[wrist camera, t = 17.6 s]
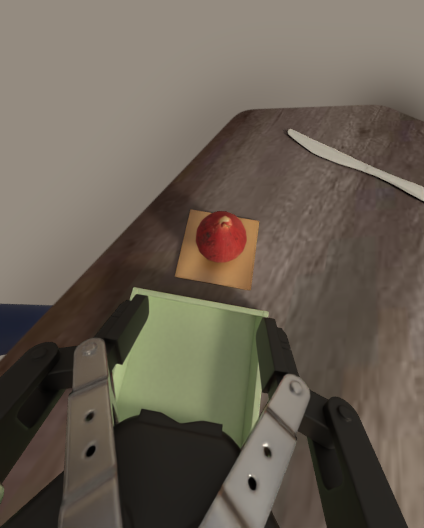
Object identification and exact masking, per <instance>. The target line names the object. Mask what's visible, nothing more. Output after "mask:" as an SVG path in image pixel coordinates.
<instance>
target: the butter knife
mask: <svg viewBox="0 0 424 528" xmlns="http://www.w3.org/2000/svg"><path fill="white" fill-rule="evenodd" d="M288 134H289V135H290V136H291V137H292V138H293V139H295V140H296V141H297V142H298V143H300V144H301V145H302V146H304V147H305V148H306V149H308V150H309V151H311V152H312V153H314V154H316V155H318V156H320V157H323V158H326V159H328V160H331V161H333V162H336V163H338V164H341V165H345V166H348V167H352V168H355V169H358V170H361V171H363V172H366V173H369V174H372V175H374V176H377V177H379V178H381V179H383V180H385V181H387V182H389V183H391V184H393V185H395V186H397V187H399V188H401V189H402V190H404V191H406V192H407V193H409V194H411V195H413V196H415V197H417V198H419V199H421V200H423V201H424V187H422V186H419V185H417V184H415V183H412V182H409V181H406V180H404V179H401V178H398V177H396V176H393V175H391V174H388V173H386V172H383V171H381V170H379V169H376V168H374V167H372V166H369V165H367V164H365V163H363V162H360V161H358V160H356V159H354V158H352V157H350V156H348V155H346V154H344V153H342V152H339V151H337V150H335V149H333V148H331V147H329V146H327V145H324V144H322V143H320V142H318V141H315V140H313V139H311V138H309V137H306V136H304V135H302V134H301V133H299V132H296V131H294V130H292V129H290V130H288Z"/></svg>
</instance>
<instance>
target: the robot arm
mask: <svg viewBox="0 0 424 528" xmlns="http://www.w3.org/2000/svg"><path fill="white" fill-rule="evenodd" d="M148 316H149V298H148V296H147V295H141V294H136V295H135V296H134V297H133V299H132V300H126V301H125V302H123V303H122V304H120V305H119V306H118V308H117V309H116V310H115V312H114V313H113V314H112V315H111V317H110V318H109V319H108V320H107V322H106V323H105V324H104V325H103V327H102V328H101V329H100V330H99V332H98V333H97V334H96V335H95V336H94V337H93V338H91V339H88V340H85V341H84V342H82V343H81V344H80V345H79V346H73V347H65V348H58V346H57V345H56V344H55V343H53V342H45V343H41V344H38V345H36V346H34V347H32V348H31V349H29V350H28V351H27V352H26V353H25V354H24V355H23V356H22V357H21V358H20V359H19V360H18V361H17V362H16V363H15V364H14V365H13V366H12V367H11V368H10V369H8V370H7V371H6V372H5V373H4V374H3V375H2V376H1V377H0V504H1V502H2V498H3V494H4V487H3V484H2V483H3V481H4V480H5V478H6V477H7V475H8V474H9V472H10V471H11V469H12V468H13V466H14V465H15V463H16V462H17V460H18V459H19V457H20V456H21V455H22V453H23V452H24V450H25V449H26V447H27V446H28V444H29V443H30V441H31V440H32V438H33V437H34V435H35V434H36V432H37V431H38V429H39V428H40V427H41V425H42V424H43V422H44V421H45V419H46V418H47V416H48V415H49V413H50V412H51V410H52V409H53V407H54V406H55V404H56V403H57V401H58V400H59V399H60V397H61V396H62V394H63V393H64V391H65V390H66V389H67V388H73V389H72V393H70V394H69V397H68V410H67V428H66V447H65V465H64V471H63V472H62V473H61V474H59V475H58V476H57V477H56V478H55V479H54V480H53V481H51V482H50V483H49V484H48V485H47V486H46V487H45V488H44V489H42V490H41V491H40V492H39V493H38V494H37V495H36V496H35V497H33V498H32V499H31V500H30V501H29V502H28V503H27V504H26V505H24V506H23V507H22V508H21V509H20V510H19V511H18V512H17V513H15V514H14V515H13V516H12V517H11V518H10V519H9V520H8V521H6V522H5V523H4V524H3V525H2V526H1V527H0V528H280V527H279V525H278V523H277V521H276V519H275V517H274V515H273V513H272V511H271V509H272V506H273V503H274V501H275V498H276V495H277V493H278V490H279V487H280V485H281V482H282V479H283V477H284V474H285V471H286V469H287V466H288V463H289V461H290V458H291V455H292V453H293V450H294V447H295V445H296V441H297V437H296V433H297V431H299V432H300V433H302V434H304V435H305V436H307V439H308V444H309V448H310V453H311V458H312V462H313V467H314V471H315V476H316V480H317V485H318V489H319V494H320V498H321V503H322V507H323V512H324V516H325V521H326V525H327V528H408V526H407V524H406V522H405V519H404V517H403V515H402V513H401V510H400V508H399V506H398V504H397V501H396V499H395V497H394V495H393V492H392V490H391V488H390V486H389V483H388V481H387V479H386V477H385V474H384V472H383V470H382V467H381V465H380V463H379V461H378V458H377V456H376V454H375V452H374V449H373V447H372V445H371V443H370V440H369V438H368V436H367V434H366V431H365V429H364V427H363V425H362V422H361V420H360V418H359V416H358V414H357V412H356V411H355V410H354V408H353V407H352V406H351V405H350V404H349V403H348V402H346V401H345V400H343V399H341V398H339V397H331V398H330V399H329V400H328V399H326V398H324V397H322V396H320V395H318V394H316V393H315V392H313V391H311V390H310V389H309V388H308V386H307V385H306V383H305V382H304V381H303V380H302V379H301V378H300V377H299V375H298V371H297V368H296V365H295V361H294V358H293V355H292V351H291V348H290V345H289V342H288V338H287V335H286V334H285V332H284V331H283V330H282V328H278V327H277V325H276V321H275V319H272V318H267V317H262V319H261V322H260V324H259V327H258V329H257V332H256V346H257V355H258V363H259V371H260V379H261V388H262V392H264V393H268V396H269V401H268V402H267V404H266V406H265V407H264V409H263V411H262V413H261V414H260V416H259V418H258V419H257V421H256V423H255V425H254V426H253V428H252V430H251V431H250V433H249V435H248V436H247V438H246V440H245V441H244V443H243V445H242V446H241V448H240V447H239V446H238V445H237V443H236V442H235V441H234V440H233V439H232V438H231V437H230V436H229V435H228V434H227V433H225V432H224V431H222V428H223V424H219V423H213V422H208V421H203V420H202V421H195V422H187V423H179V422H177V421H175V420H174V419H172V418H170V417H168V416H167V415H165V414H163V413H162V412H157V411H152V410H147V409H141V411H140V414H139V415H135V416H132V417H129V418H127V419H124V420H123V421H121V422H120V418H119V412H118V407H117V401H116V394H115V386H114V378H113V371H112V370H113V368H114V367H115V365H116V364H120V365H123V363H124V361H125V359H126V357H127V356H128V354H129V352H130V350H131V348H132V347H133V345H134V343H135V341H136V339H137V337H138V336H139V334H140V332H141V330H142V328H143V327H144V325H145V323H146V321H147V319H148Z"/></svg>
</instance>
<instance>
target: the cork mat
mask: <svg viewBox="0 0 424 528" xmlns="http://www.w3.org/2000/svg"><path fill="white" fill-rule="evenodd" d="M209 214H211V213H208V212H202V211H196V210H190V214H189V218H188V222H187V226H186V231H185V235H184V239H183V243H182V248H181V252H180V256H179V260H178V265H177V269H176V273H175V277H177V278H183V279H188V280H194V281H200V282H205V283H211V284H216V285H222V286H227V287H233V288H238V289H244V290H251V283H252V275H253V267H254V259H255V251H256V242H257V234H258V226H259V221H256V220H250V219H244V218H239V219H240V220H241V221H242V223H243V225H244V227H245V229H246V236H247V242H246V245H245V247H244V250H243V252H242V253H241V254H240V255H239V256H238V257H237V258H235V259H233V260H231V261H228V262H222V263H217V262H213V261H210V260H208V259H206V258H205V257H204V256H203V255H202V254H201V253H200V252H199V249H198V247H197V244H196V232H197V228H198V226H199V224H200V223H201V221H202V220H203V219H204V218H205V217H206V216H208V215H209ZM237 218H238V217H237Z"/></svg>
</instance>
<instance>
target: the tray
mask: <svg viewBox="0 0 424 528" xmlns="http://www.w3.org/2000/svg"><path fill="white" fill-rule="evenodd" d="M136 294H141V295H147V296H148V298H149V316H148V319H147V321H146V323H145V325H144V327H143V328H142V330H141V332H140V334H139V336H138V337H137V339H136V341H135V343H134V345H133V347H132V348H131V350H130V352H129V354H128V356H127V357H126V359H125V361H124V363H123V365H120V364H116V365H115V367H114V368H113V370H112V371H113V378H114V386H115V394H116V401H117V407H118V412H119V418H120V422H121V421H123V420H124V419H127V418H129V417H132V416H135V415H139V414H140V411H141V409H147V410H152V411H157V412H162V413H163V414H165V415H167V416H168V417H170V418H172V419H174V420H175V421H177V422H179V423H187V422H195V421H202V420H203V421H208V422H213V423H219V424H223V428H222V431H224V432H225V433H227V434H228V435H229V436H230V437H231V438H232V439H233V440H234V441H235V442H236V443H237V445H238V446H239V447H240V448H241V446H242V445H243V443H244V441H245V440H246V438H247V436H248V435H249V433H250V431H251V430H252V428H253V426H254V425H255V423H256V421H257V419H258V418H259V408H260V397H261V379H260V371H259V363H258V355H257V346H256V332H257V329H258V327H259V324H260V322H261V319H262V317H267V318H268V312H267V311H261V310H256V309H251V308H245V307H240V306H234V305H229V304H223V303H218V302H212V301H207V300H201V299H196V298H190V297H185V296H179V295H174V294H169V293H163V292H158V291H152V290H147V289H141V288H136V287H133V290H132V294H131V297H130V300H132V299H133V297H134V296H135V295H136Z"/></svg>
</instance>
